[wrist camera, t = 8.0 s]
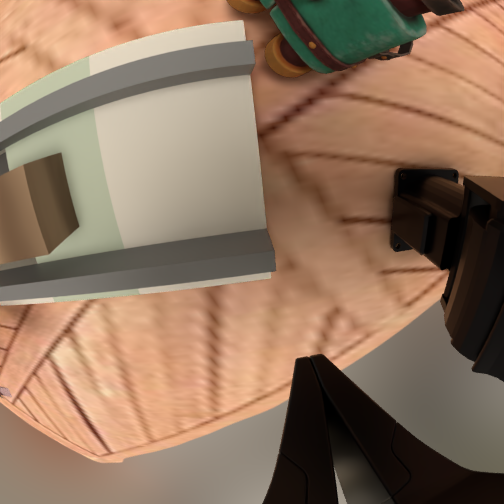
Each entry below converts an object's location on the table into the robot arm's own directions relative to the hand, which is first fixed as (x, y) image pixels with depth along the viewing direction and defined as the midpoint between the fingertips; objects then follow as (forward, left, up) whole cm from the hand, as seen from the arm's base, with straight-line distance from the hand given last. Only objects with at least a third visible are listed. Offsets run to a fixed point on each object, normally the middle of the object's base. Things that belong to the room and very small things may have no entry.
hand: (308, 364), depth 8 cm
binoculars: (-10, -16, -8) cm, 21 cm away
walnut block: (+14, -5, -10) cm, 18 cm away
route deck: (+12, -5, -12) cm, 18 cm away
